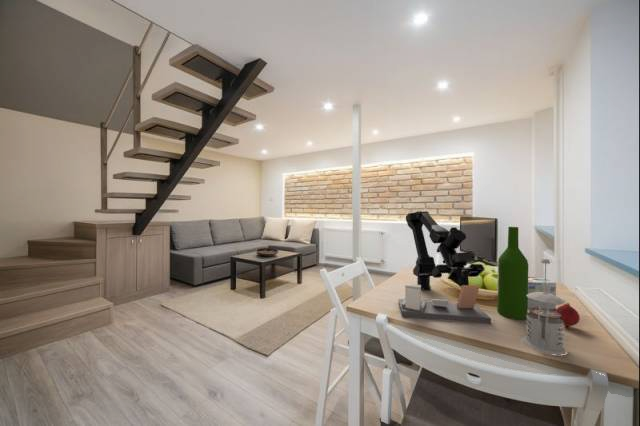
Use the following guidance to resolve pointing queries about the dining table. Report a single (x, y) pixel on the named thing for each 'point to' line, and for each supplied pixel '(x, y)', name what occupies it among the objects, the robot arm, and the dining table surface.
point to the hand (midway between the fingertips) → (467, 291)
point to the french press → (544, 323)
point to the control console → (445, 312)
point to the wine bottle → (512, 280)
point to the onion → (568, 315)
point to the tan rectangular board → (467, 296)
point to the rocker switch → (440, 302)
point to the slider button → (413, 296)
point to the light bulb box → (539, 286)
